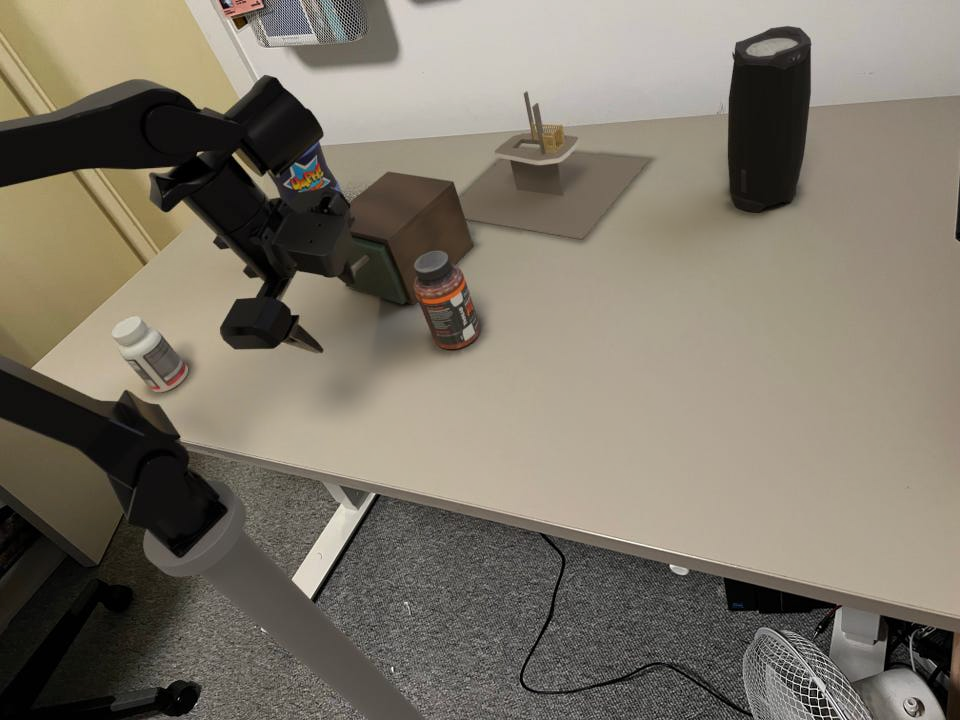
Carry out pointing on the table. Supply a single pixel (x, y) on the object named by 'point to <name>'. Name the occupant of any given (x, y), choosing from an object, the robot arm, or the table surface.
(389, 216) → the cabinet
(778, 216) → the table surface
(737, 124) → the portable speaker
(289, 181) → the water bottle
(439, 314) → the supplement bottle
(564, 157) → the architectural model
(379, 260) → the drawer
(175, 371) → the pill bottle
